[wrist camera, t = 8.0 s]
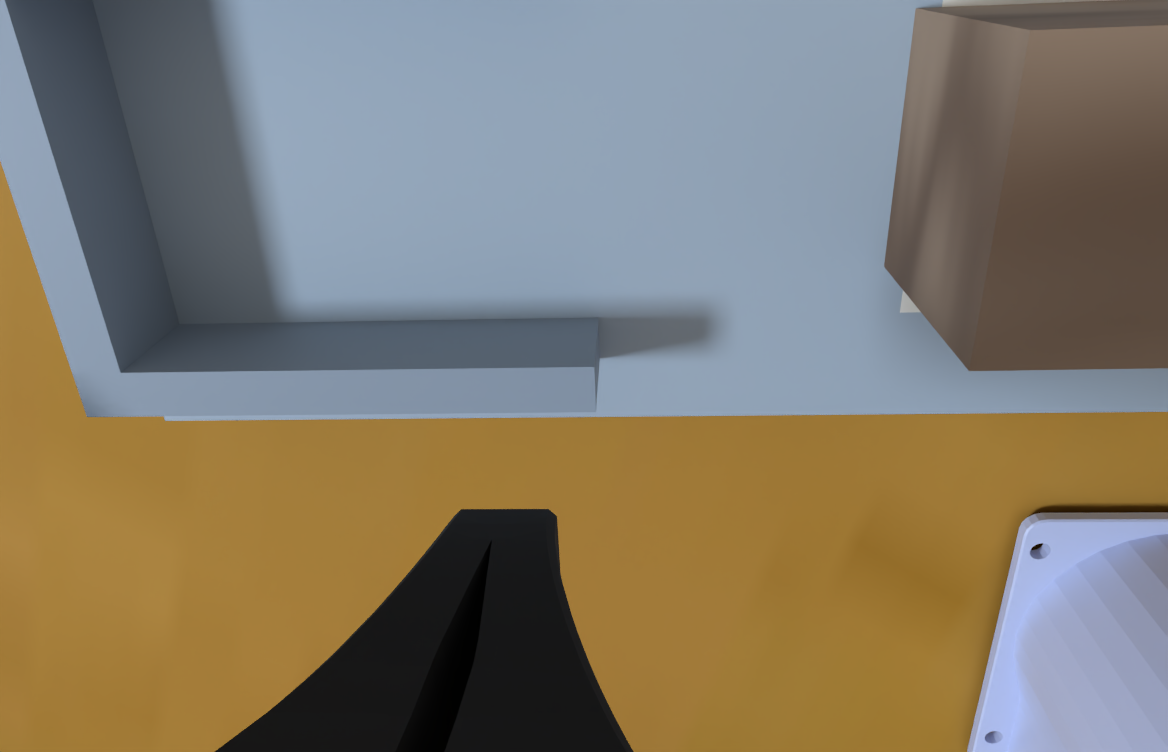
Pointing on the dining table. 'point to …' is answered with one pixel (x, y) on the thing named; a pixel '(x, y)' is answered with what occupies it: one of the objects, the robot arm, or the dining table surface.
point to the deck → (484, 210)
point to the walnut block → (1037, 184)
